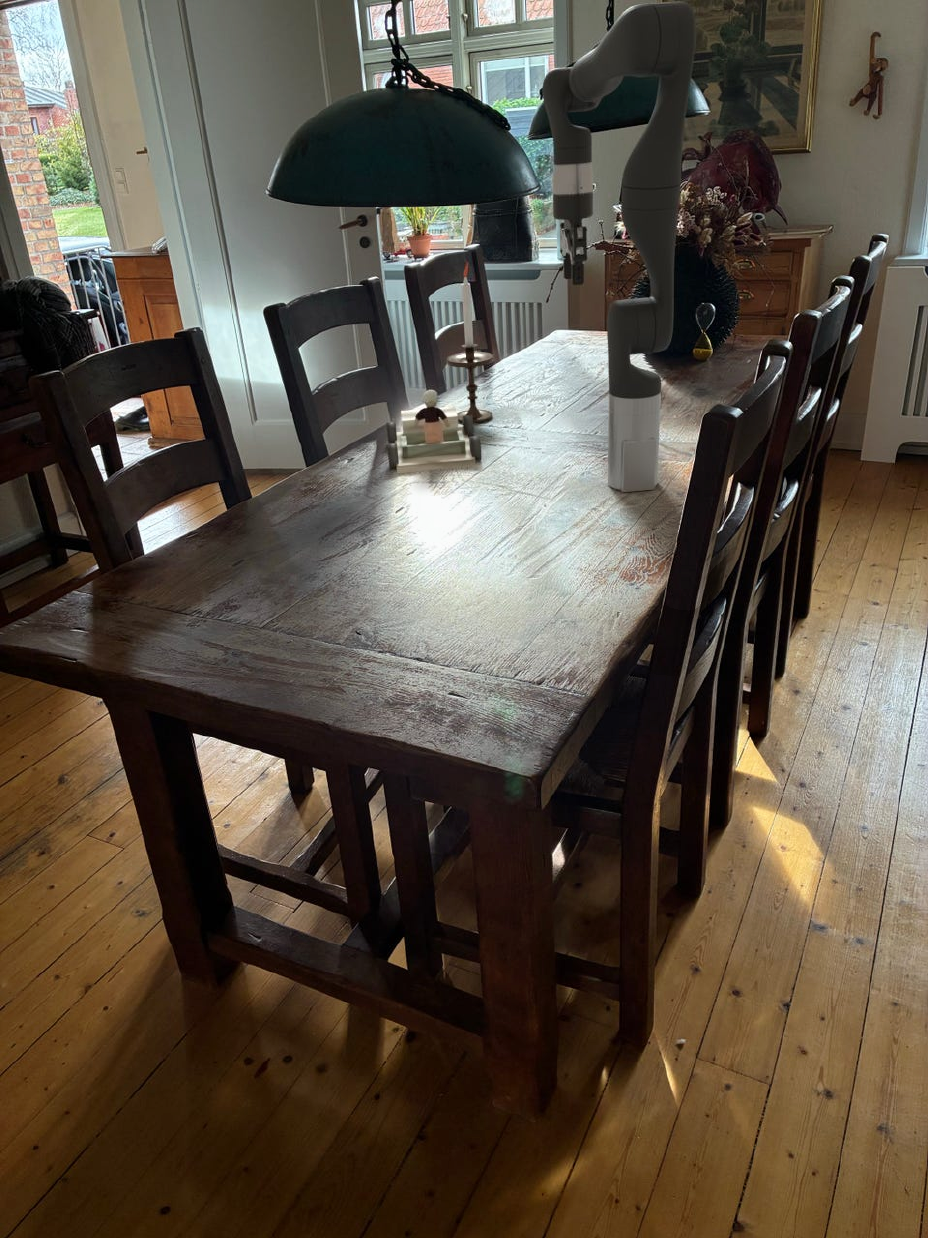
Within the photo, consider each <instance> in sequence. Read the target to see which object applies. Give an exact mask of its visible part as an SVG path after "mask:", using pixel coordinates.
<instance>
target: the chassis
mask: <svg viewBox="0 0 928 1238" xmlns="http://www.w3.org/2000/svg"><path fill="white" fill-rule="evenodd" d="M438 408H439V409H441V410H442V411H443V412H444V413H445V415H446V416H447V419H448V422H449V423H450V426H449V427H446V426H445V423H444V422H443V420H442V419H441V418H440V417H439V420H440V422H441V426H442V433H443V439H444V442H437V443H426V439H425V429H424V423H425V419H423V420H420V421H419V424H418V425H417V426H415V425H414V421H415V418H416V417H415V416H416V414H417V413H418V412H419V411H420V410H422V409H423V408H422V409H411V410H410V409H409V410H401V411H400V413H401V423H402V431H397V424H396V421H386V435H387V444H386V445H387V457H388V459H387V460H388V466H389V469H396V472H397V474H404V473H405V474H406V473H417V472H428V471H429V472H430V471H438V470H449V469H460V468H461V469H463V468H473V467H476V462H477V461H482V444H481V438H480V435H475V427H474V425H475V424H473V417H472V415H466V416H463V424H462V426H459V423H458V415H457V413H458V411H457V409H456V406H446V407H445V406H444V407H438Z"/></svg>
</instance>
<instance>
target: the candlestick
mask: <svg viewBox="0 0 928 1238" xmlns="http://www.w3.org/2000/svg"><path fill="white" fill-rule="evenodd" d="M468 268H469V262H468V261H467V262H466V264H465V267H464V270H463V283H461V296H462V298H461V299H462V314H463V328H464V330H463V331H464V344H462V345H460V347H461V348H464V350H465V351H464V352H460V353H455V354H451V355H449V356H447V358H446V365H448V366H449V367H454V368H464V369H467V372H468V373H467V378H468V384H467V385H466V386H465V390H466V391H467V392H468V396H467V397H466V399H467V400H469V407H468V410H464V411H460V412H457V415H458V424H462V425H463V416H466V415H472V417H473V425H478V424H484V423H488V422H490V421H491V420H493V418H494V416H493V415H494V414H493V412H491V411H489V410H484V409H478V407H477V403H476V400H477V399H478V397H479V396H478V395H476V394H477V393H476V391H477V390H478V388H479V386H478V385H477V384H476V383H475V370H474V369H476V368H477V367H482V366H487V365H490V364H492V363H493V362H494V359H495V356H494V354H492V353H489V352H483V351H475V347H476V348H477V347H478V346H479V345H478V344H477V343H474V333H473V332H474V331H473V330H474V329H473V319H472V318H473V317H472V316H473V315H472V314H473V313H472V301H471V300H472V298H471V297H472V296H471V283H469V281H468V279H467V278H468V277H467V275H468V271H469V269H468Z"/></svg>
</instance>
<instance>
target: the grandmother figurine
mask: <svg viewBox="0 0 928 1238" xmlns="http://www.w3.org/2000/svg"><path fill="white" fill-rule="evenodd" d="M421 402H422V403H423V404H424V405H425V406H426V407H424V408H422V410H420V409H419V410H420V411H419V412H418V413H417V414H416V416H415V417H416V418H415V421H414V425H415V426H417V425H418V424H419V421H420V420H423V419H425V423H424V429H425V439H426V443H437V442H444V439H443V433H442V426H441V422H440V420H439V417H440V418H441V419H442V420H443V422H444V423H445V426H446V427H449V426H450V423H449V422H448V419H447V416H446V415H445V413H444V412H443V411H442V410H441V409H439V408H440V407H436V405H437V403H438V393H437V391H436V390H434V389H428V390H426V391H425V392H424V393H423V395H422V397H421Z"/></svg>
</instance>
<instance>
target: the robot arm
mask: <svg viewBox="0 0 928 1238" xmlns="http://www.w3.org/2000/svg"><path fill="white" fill-rule="evenodd" d="M694 12H695V11H694V10H693V8H692V6H691V4H689V3H687V2H685V1H666V2H663V1H662V2H648V3H639V4H635V5H633V6H630V7H629V8H627V9H626V10H625V11H623V12H622V13H621V15H620V16H619V17H618V18H616V19H617V20H615V22H614V24H612V26H611V28H609V30H608V31H607V33H606V34H605V35H604V36H603V38H602V40H601V41H600V42H599V44H598V45H597V46H595V48H593V49H592V50H591V51H589V52H588V53H586V54H584V55H582V57H580V58H579V59H578V60H577V61H576V62H575V63H574V64H573V66H570V67H569V66H568V67H553V68H552V69H550V70H549V71H548V72H547V73H546V74H545V76H544V79H543V82H542V97H543V98H542V99H543V102H544V107H545V110H546V114H547V117H548V122H549V126H550V131H551V136H552V144H553V170H552V171H553V172H552V217H553V219H554V220H559V221H561V220H562V221H561V222H560V224H559V227H560V232H559V233H560V243H559V244H560V245H559V247H560V250H559V253H560V254H561V259H563V261H562V262H563V263H562V264H563V269H562V270H563V279H565V280H571V284H572V285H573V286H580V285H581V286H582V285H583V284H584V282H585V280H584V278H585V277H584V276H585V275H584V272H585V271H584V270H585V269H584V268H585V267H584V266H585V265H584V264H585V262H587V259H588V254H587V253H588V250H587V249H588V245H587V244H588V242H587V241H588V238H587V237H588V236H587V235H588V234H587V233H588V232H587V231H588V228H587V226H583V222H582V221H583V219H588V218H592V216H593V215H594V173H593V164H592V160H593V159H592V158H593V157H592V156H593V155H592V154H593V153H592V150H593V148H592V146H593V143H592V142H593V140H592V132H591V130H590V128H588V127H584V126H580V125H579V126H578V125H574V124H573V123H572V122H570V120H569V117H568V115H567V113H577V112H588V111H592V110H594V109H597V107H598V106H599V104H600V103H601V101H602V99H603V98H604V97H606V96H607V95H609V94H610V93H611V94H612V93H613V92H614V91H615V90H616V89H617V88H618V87H619V85H620V84H621V83H622V81H623V79H624V77H637V78H647V77H658V76H659V81H658V89H657V94H656V100H655V105H654V109H653V111H652V115H651V117H650V119H649V121H648V123H647V125H646V127H645V128H644V131H643V132H642V134H641V136H640V138H639V139H638V141H637V143H636V145H635V146H634V148H633V149H632V152H631V154H630V155H629V157H628V160H627V162H626V163H625V167H624V168H623V169H624V170H623V174H622V179H621V180H622V181H621V200H620V201H621V203H620V205H621V206H620V207H621V208H620V214H621V221H622V223H623V227H624V228H625V231H626V232H627V235H628V237H629V238H630V239H631V241H632V243H633V245H634V247H635V248H636V250H637V251H638V253H639V255H640V257H641V258H642V260H643V262H644V264H645V267H646V270H647V273H648V276H649V283H650V284H649V285H650V294H649V295H650V296H649V297H638V298H637V297H636V298H626V299H619V300H618V299H617V300H615V301H612V303H611V304H610V306H609V309H608V310H607V321H606V332H607V333H606V336H607V350H608V351H607V352H608V353H607V356H608V357H607V358H608V361H607V362H608V365H607V366H608V367H607V368H608V369H607V370H608V431H607V432H608V433H607V434H608V438H607V439H608V440H607V445H608V446H607V484H608V486H609V487H611V488H612V489H615V490H618V491H621V492H622V493H631V492H641V491H651V490H652V491H653V490H655V489H656V486H657V485H658V481H659V479H658V478H659V453H660V451H659V450H660V430H661V429H660V425H661V402H662V401H661V399H662V397H661V396H662V378H661V376H660V375H659V374H658V373H656V372H654V371H651V370H648V369H643V368H640V367H638V366H635V365H634V364H633V363H631V355H641V354H650V353H651V354H652V353H660V352H663V351H666V350H667V349H668V347H669V346H670V344H671V342H672V337H673V332H674V331H673V330H674V317H675V315H674V310H675V309H674V303H675V302H674V300H675V299H674V296H675V295H674V294H675V293H674V290H675V287H674V286H675V285H674V282H675V280H674V279H675V277H674V276H675V272H674V271H675V252H676V251H675V249H676V241H677V239H676V238H677V237H676V236H677V227H678V218H679V210H680V209H679V208H680V195H681V183H682V179H681V178H682V159H683V147H684V146H683V145H684V131H685V122H686V115H687V107H688V99H689V93H690V86H691V80H692V75H693V74H692V73H693V67H694V60H695V51H696V45H697V44H696V43H697V42H696V41H697V23H696V18H695V17H696V16H695V13H694Z"/></svg>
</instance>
